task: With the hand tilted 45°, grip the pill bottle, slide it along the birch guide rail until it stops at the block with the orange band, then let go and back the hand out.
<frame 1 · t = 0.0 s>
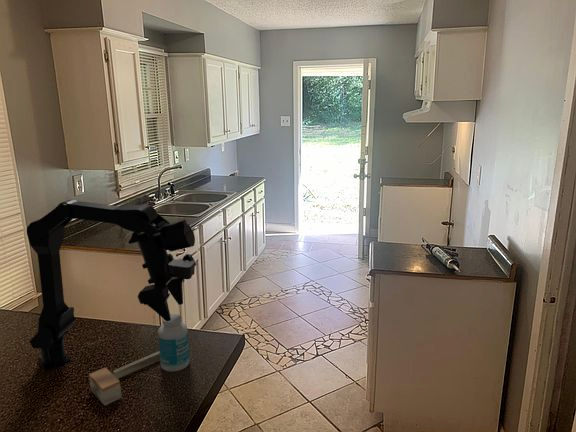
hand: (175, 312, 111), 15 cm above the countertop, tool pointing down, fingers open, 9 cm apart
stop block: (106, 393, 104), on the countertop
pill bottle: (175, 365, 115), on the countertop
guide rail: (140, 367, 114), on the countertop
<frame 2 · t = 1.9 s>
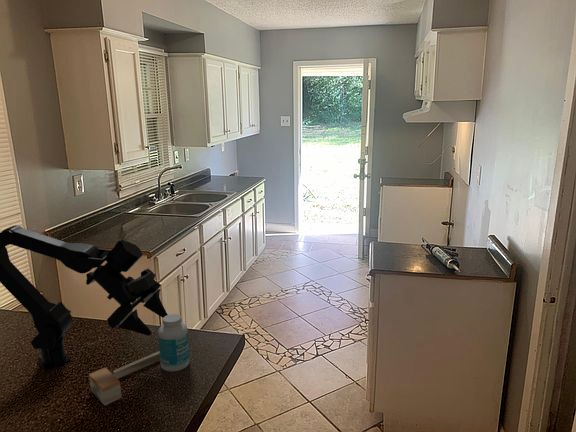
hand: (159, 325, 113), 11 cm above the countertop, tool tilted 45°, fingers open, 9 cm apart
nothing on the countertop moved.
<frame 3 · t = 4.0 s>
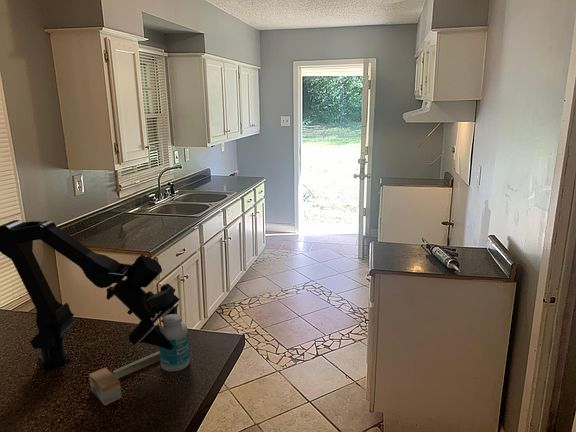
hand: (178, 340, 113), 7 cm above the countertop, tool tilted 45°, fingers closed on pill bottle, 7 cm apart
pill bottle: (175, 365, 115), on the countertop, touching gripper
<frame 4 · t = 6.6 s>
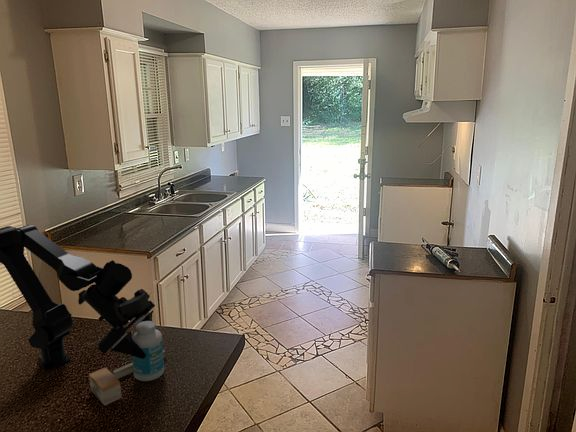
hand: (152, 349, 108), 8 cm above the countertop, tool tilted 45°, fingers closed on pill bottle, 7 cm apart
pill bottle: (149, 374, 110), on the countertop, touching gripper
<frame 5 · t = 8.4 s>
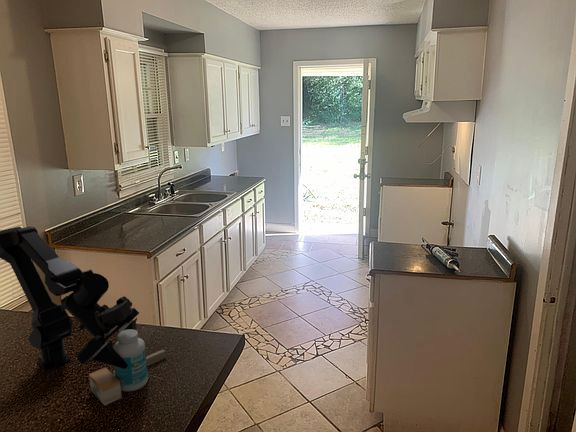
hand: (135, 358, 105), 7 cm above the countertop, tool tilted 45°, fingers closed on pill bottle, 7 cm apart
pill bottle: (132, 384, 107), on the countertop, touching gripper
when the fingers open (7 cm above the countertop, at t = 9.4 s): pill bottle stays where it is, on the countertop.
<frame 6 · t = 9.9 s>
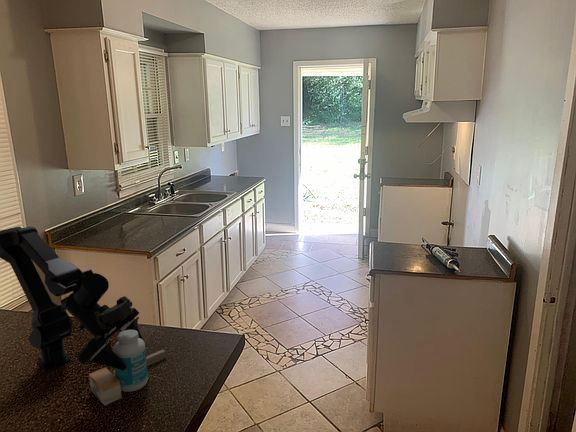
hand: (135, 358, 105), 7 cm above the countertop, tool tilted 45°, fingers open, 9 cm apart
pill bottle: (132, 384, 107), on the countertop
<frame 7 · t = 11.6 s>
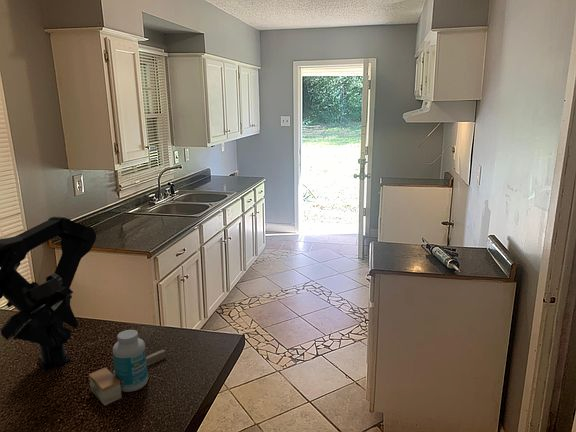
hand: (65, 335, 103), 14 cm above the countertop, tool tilted 45°, fingers open, 9 cm apart
nothing on the countertop moved.
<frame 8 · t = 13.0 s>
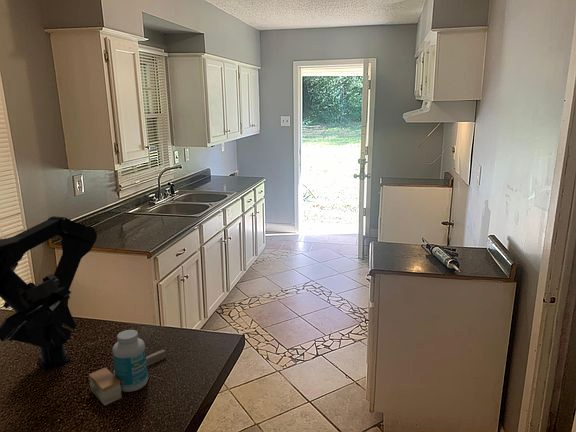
hand: (62, 337, 103), 14 cm above the countertop, tool tilted 45°, fingers open, 9 cm apart
nothing on the countertop moved.
at the end: pill bottle 0.3 cm from the target spot, on the countertop; pill bottle tilted 0°; the gripper is holding nothing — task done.
